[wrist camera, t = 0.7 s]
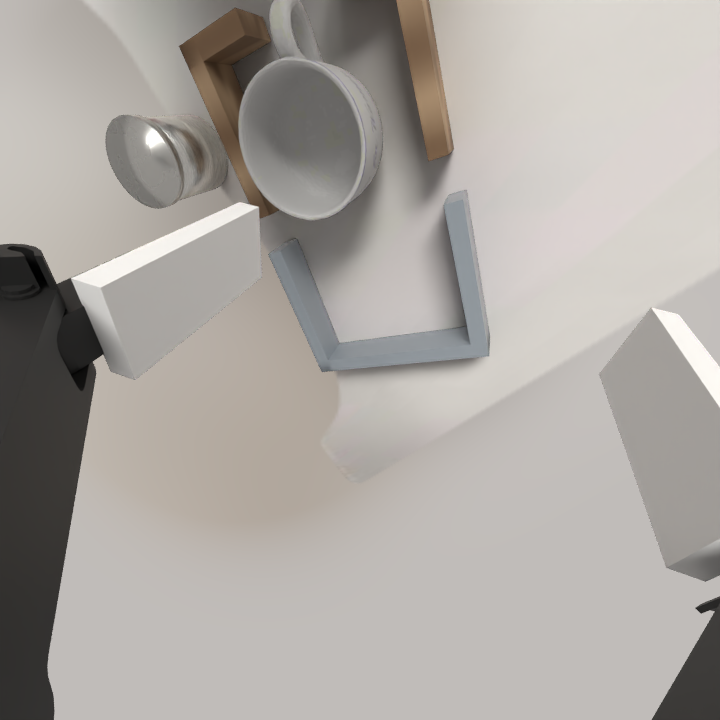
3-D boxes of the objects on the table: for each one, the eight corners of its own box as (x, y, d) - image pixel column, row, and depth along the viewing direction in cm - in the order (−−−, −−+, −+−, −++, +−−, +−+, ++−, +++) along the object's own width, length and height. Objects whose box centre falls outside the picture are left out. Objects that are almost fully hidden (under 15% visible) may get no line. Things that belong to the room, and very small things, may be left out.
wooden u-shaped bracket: (209, 51, 32) (179, 46, 29) (415, -82, 24) (402, -109, 21) (276, 209, 39) (256, 219, 36) (453, 148, 31) (448, 154, 27)
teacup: (384, 208, 35) (360, 231, 29) (285, 192, 37) (243, 211, 31) (404, 14, 27) (376, -11, 21) (275, 8, 29) (214, -16, 23)
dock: (285, 242, 41) (268, 253, 38) (466, 189, 32) (463, 199, 29) (333, 354, 48) (321, 371, 45) (489, 336, 40) (489, 356, 36)
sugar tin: (155, 128, 38) (90, 133, 32) (205, 99, 34) (143, 100, 28) (192, 200, 41) (140, 217, 35) (241, 180, 38) (193, 195, 32)
